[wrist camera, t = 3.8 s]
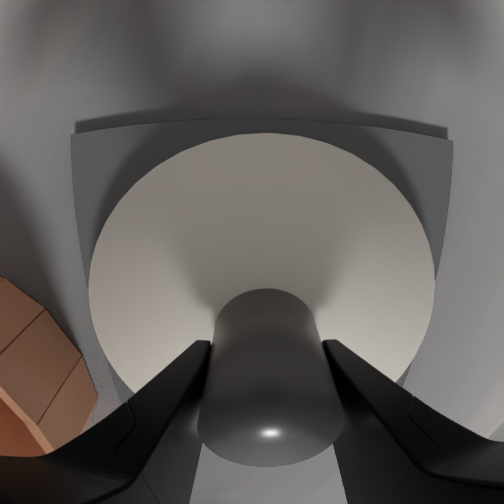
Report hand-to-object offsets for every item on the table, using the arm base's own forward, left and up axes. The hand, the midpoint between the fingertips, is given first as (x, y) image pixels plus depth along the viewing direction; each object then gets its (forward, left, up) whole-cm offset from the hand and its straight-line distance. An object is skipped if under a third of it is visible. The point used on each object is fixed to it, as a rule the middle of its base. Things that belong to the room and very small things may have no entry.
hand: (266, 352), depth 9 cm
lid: (0, 0, -2) cm, 2 cm away
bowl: (-4, +13, -2) cm, 14 cm away
